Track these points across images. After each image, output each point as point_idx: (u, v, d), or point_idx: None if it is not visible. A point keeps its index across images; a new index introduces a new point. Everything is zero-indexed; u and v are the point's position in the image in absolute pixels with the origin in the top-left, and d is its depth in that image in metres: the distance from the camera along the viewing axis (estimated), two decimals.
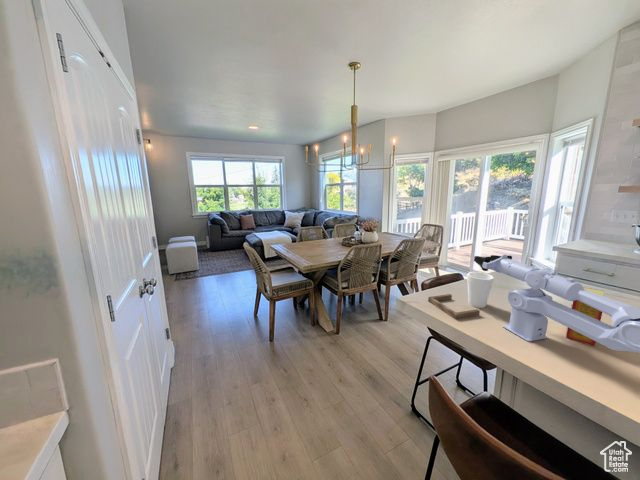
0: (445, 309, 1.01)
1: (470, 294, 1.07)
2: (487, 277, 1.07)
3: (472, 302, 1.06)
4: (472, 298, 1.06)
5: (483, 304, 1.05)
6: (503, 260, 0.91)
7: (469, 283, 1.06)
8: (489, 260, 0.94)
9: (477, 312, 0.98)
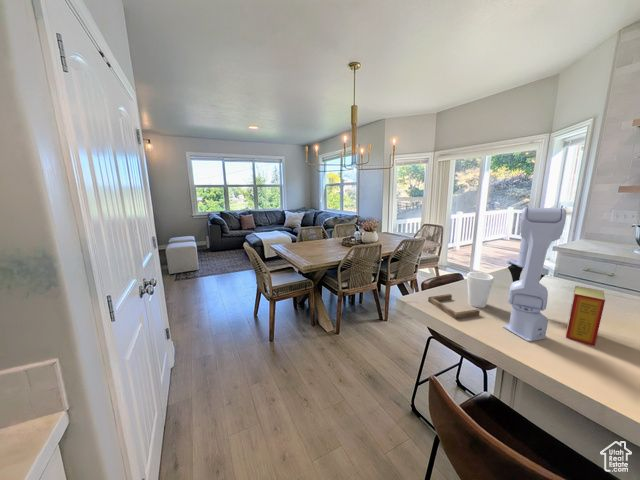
0: (445, 309, 1.01)
1: (470, 294, 1.07)
2: (487, 277, 1.07)
3: (472, 302, 1.06)
4: (472, 298, 1.06)
5: (483, 304, 1.05)
6: None
7: (469, 283, 1.06)
8: (518, 265, 1.03)
9: (477, 312, 0.98)
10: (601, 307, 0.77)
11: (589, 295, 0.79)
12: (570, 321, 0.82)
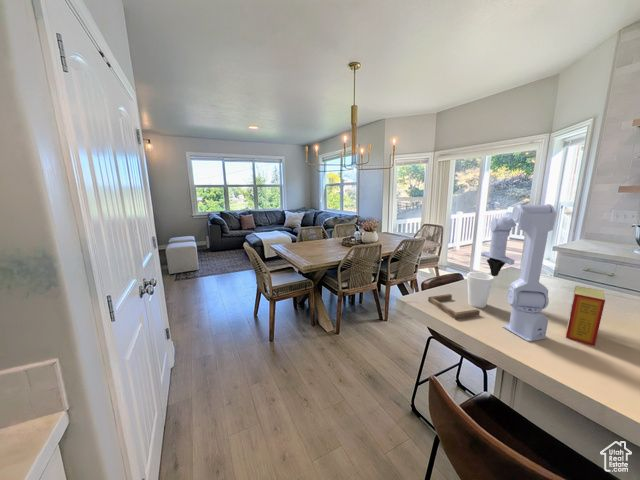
0: (445, 309, 1.01)
1: (470, 294, 1.07)
2: (487, 277, 1.07)
3: (472, 302, 1.06)
4: (472, 298, 1.06)
5: (483, 304, 1.05)
6: None
7: (469, 283, 1.06)
8: None
9: (477, 312, 0.98)
10: (601, 307, 0.77)
11: (589, 295, 0.79)
12: (570, 321, 0.82)
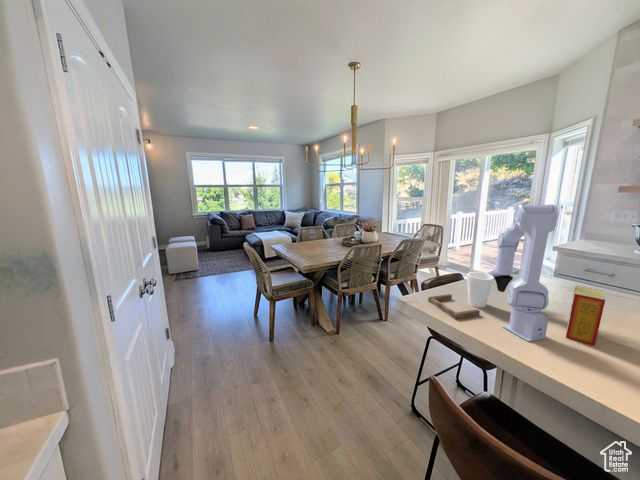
0: (445, 309, 1.01)
1: (470, 294, 1.07)
2: (487, 277, 1.07)
3: (472, 302, 1.06)
4: (472, 298, 1.06)
5: (483, 304, 1.05)
6: (496, 267, 1.09)
7: (469, 283, 1.06)
8: None
9: (477, 312, 0.98)
10: (601, 307, 0.77)
11: (589, 295, 0.79)
12: (570, 321, 0.82)
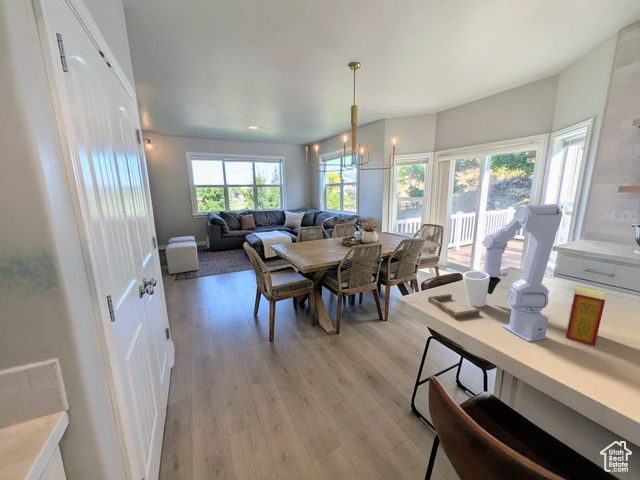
0: (445, 309, 1.01)
1: (468, 294, 1.06)
2: None
3: (471, 302, 1.06)
4: (471, 298, 1.06)
5: (483, 303, 1.05)
6: None
7: (466, 284, 1.06)
8: None
9: (477, 312, 0.98)
10: (601, 307, 0.77)
11: (589, 295, 0.79)
12: (570, 321, 0.82)
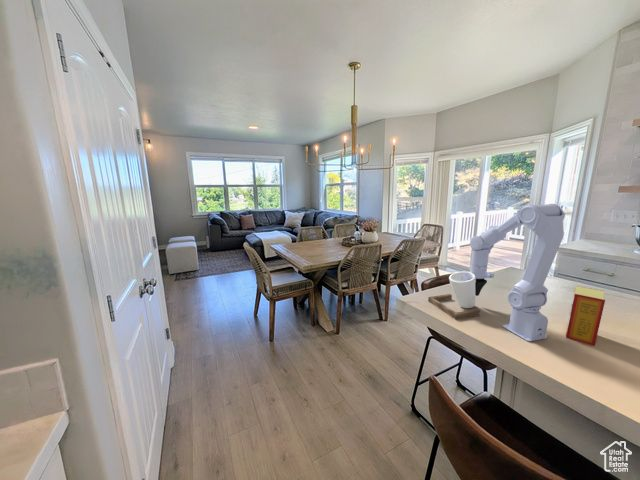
0: (445, 309, 1.01)
1: (457, 297, 1.05)
2: None
3: (461, 304, 1.05)
4: (460, 301, 1.04)
5: (472, 304, 1.03)
6: (470, 270, 1.07)
7: (453, 287, 1.04)
8: None
9: (477, 312, 0.98)
10: (601, 307, 0.77)
11: (589, 295, 0.79)
12: (570, 321, 0.82)
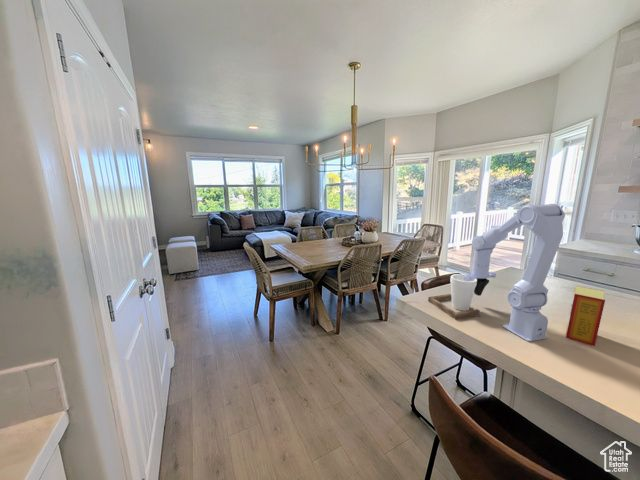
0: (445, 309, 1.01)
1: (454, 297, 1.04)
2: None
3: (456, 305, 1.04)
4: (456, 301, 1.03)
5: (467, 307, 1.03)
6: (472, 270, 1.07)
7: (453, 286, 1.03)
8: None
9: (477, 312, 0.98)
10: (601, 307, 0.77)
11: (589, 295, 0.79)
12: (570, 321, 0.82)
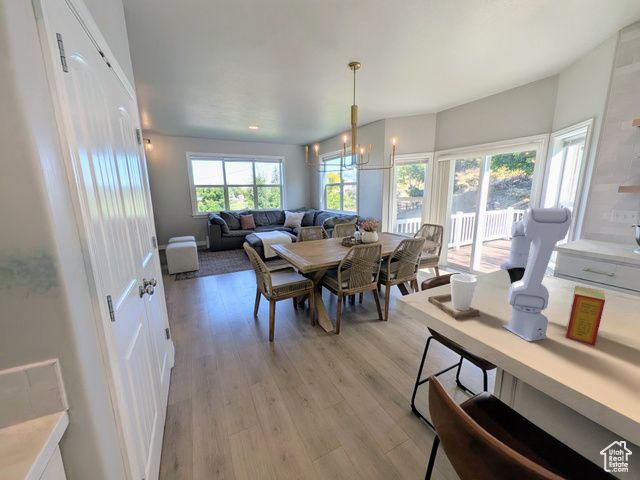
0: (445, 309, 1.01)
1: (454, 297, 1.04)
2: (470, 279, 1.05)
3: (456, 305, 1.04)
4: (456, 301, 1.03)
5: (467, 307, 1.03)
6: (509, 259, 1.01)
7: (453, 286, 1.03)
8: None
9: (477, 312, 0.98)
10: (601, 307, 0.77)
11: (589, 295, 0.79)
12: (570, 321, 0.82)
